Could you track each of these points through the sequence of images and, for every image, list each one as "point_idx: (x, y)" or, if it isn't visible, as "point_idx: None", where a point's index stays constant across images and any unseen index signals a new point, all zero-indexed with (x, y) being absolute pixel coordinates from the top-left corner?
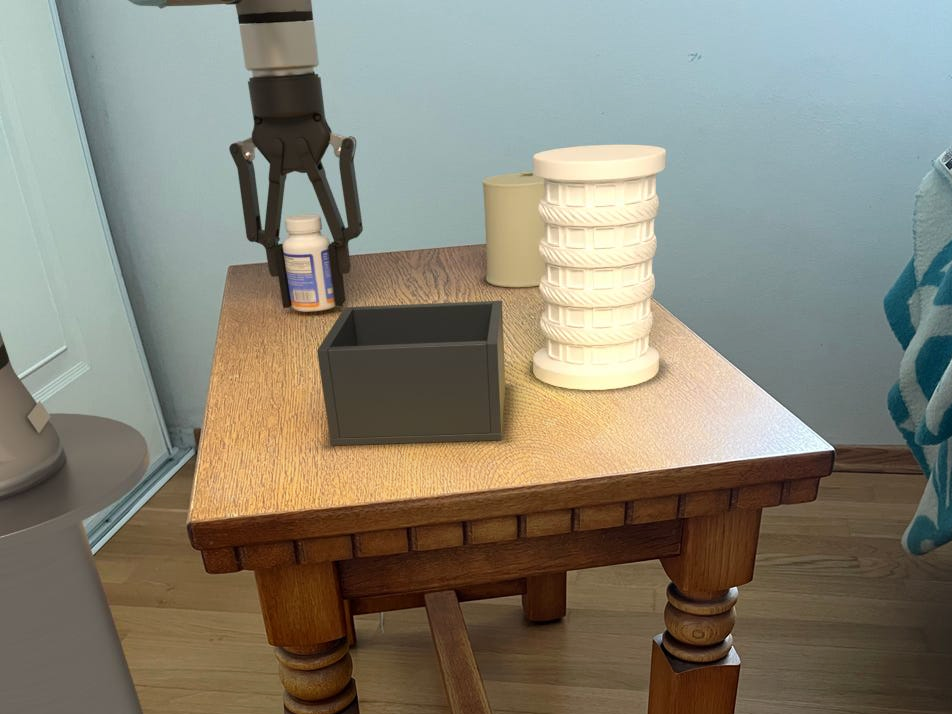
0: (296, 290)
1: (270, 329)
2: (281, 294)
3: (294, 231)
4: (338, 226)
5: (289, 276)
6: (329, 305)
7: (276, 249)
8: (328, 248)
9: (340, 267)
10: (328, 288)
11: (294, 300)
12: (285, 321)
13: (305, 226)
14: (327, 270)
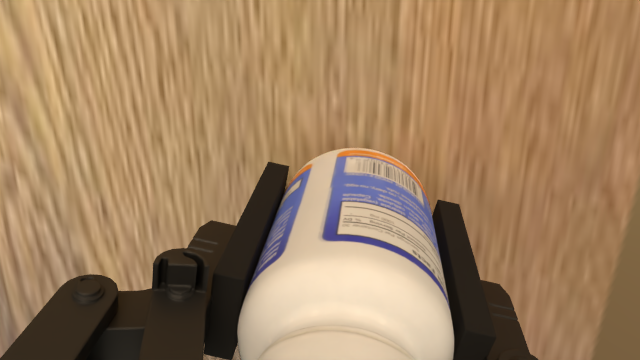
0: (411, 192)
1: (518, 55)
2: (464, 227)
3: (391, 348)
4: (150, 329)
5: (433, 239)
6: (306, 164)
7: (485, 330)
8: (244, 274)
9: (228, 238)
10: (294, 189)
11: (421, 189)
12: (457, 137)
13: (325, 348)
14: (279, 224)
